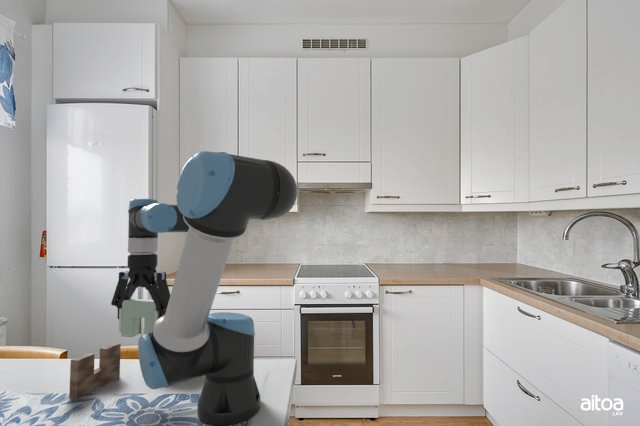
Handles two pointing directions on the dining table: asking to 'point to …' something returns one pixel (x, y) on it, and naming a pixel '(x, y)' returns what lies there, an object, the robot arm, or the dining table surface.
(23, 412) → the dining table surface
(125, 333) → the notched mint block
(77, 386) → the wooden u-shaped stand
